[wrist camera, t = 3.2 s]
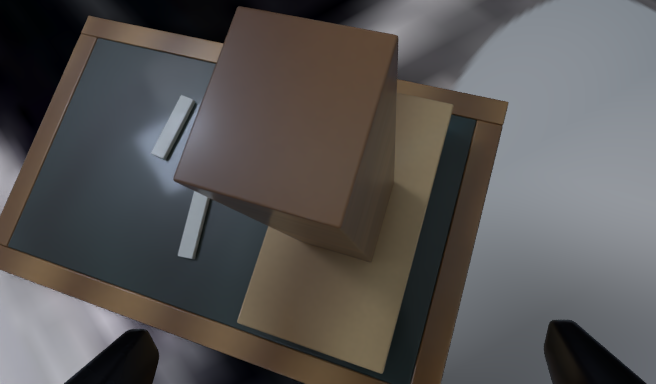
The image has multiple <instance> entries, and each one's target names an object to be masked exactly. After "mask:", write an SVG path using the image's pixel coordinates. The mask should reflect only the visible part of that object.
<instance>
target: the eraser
mask: <svg viewBox="0 0 656 384" xmlns="http://www.w3.org/2000/svg"><path fill="white" fill-rule="evenodd" d="M397 65H398V36H397V35H393V34H388V33H382V32H377V31H371V30H366V29H360V28H355V27H350V26H344V25H339V24H333V23H328V22H322V21H317V20H311V19H306V18H301V17H295V16H290V15H284V14H279V13H273V12H268V11H263V10H257V9H252V8H246V7H241V6H239V7H237V10H236V12H235V15H234V18H233V20H232V23H231V26H230V28H229V31H228V34H227V36H226V39H225V41H224V44H223V47H222V49H221V52H220V55H219V57H218V60H217V63H216V65H215V68H214V71H213V73H212V76H211V79H210V81H209V84H208V87H207V89H206V92H205V95H204V97H203V100H202V103H201V105H200V108H199V111H198V113H197V116H196V119H195V121H194V124H193V127H192V129H191V132H190V135H189V137H188V140H187V142H186V145H185V148H184V150H183V153H182V156H181V158H180V161H179V164H178V166H177V169H176V172H175V174H174V177H173V180H174V181H175V182H177V183H179V184H181V185H183V186H185V187H187V188H189V189H191V190H193V191H196V192H198V193H200V194H202V195H204V196H206V197H208V198H210V199H212V200H214V201H217V202H219V203H221V204H223V205H225V206H227V207H229V208H231V209H233V210H235V211H238V212H240V213H242V214H244V215H246V216H248V217H250V218H252V219H254V220H256V221H259V222H261V223H263V224H265V225H267V226H268V229H267V232H266V235H265V238H264V241H263V244H262V247H261V250H260V253H259V256H258V259H257V262H256V265H255V268H254V271H253V274H252V277H251V280H250V283H249V286H248V289H247V292H246V295H245V299H244V302H243V305H242V308H241V311H240V314H239V317H238V320H237V323H239V324H242V325H245V326H247V327H250V328H253V329H256V330H259V331H261V332H264V333H267V334H270V335H273V336H276V337H278V338H281V339H284V340H287V341H290V342H293V343H295V344H298V345H301V346H304V347H307V348H309V349H312V350H315V351H318V352H321V353H324V354H326V355H329V356H332V357H335V358H338V359H340V360H343V361H346V362H349V363H352V364H355V365H357V366H360V367H363V368H366V369H369V370H372V371H374V372H377V373H380V374H382V373H383V371H384V368H385V364H386V360H387V356H388V353H389V349H390V345H391V341H392V337H393V334H394V330H395V326H396V322H397V319H398V315H399V311H400V307H401V303H402V300H403V296H404V292H405V288H406V284H407V281H408V277H409V273H410V269H411V266H412V262H413V258H414V254H415V250H416V247H417V243H418V239H419V235H420V232H421V228H422V224H423V220H424V216H425V213H426V209H427V205H428V201H429V198H430V194H431V190H432V186H433V182H434V179H435V175H436V171H437V167H438V163H439V160H440V156H441V152H442V148H443V145H444V141H445V137H446V133H447V129H448V126H449V122H450V118H451V114H452V111H453V107H454V106H453V104H449V103H444V102H439V101H435V100H430V99H425V98H420V97H416V96H411V95H406V94H402V93H397Z"/></svg>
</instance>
